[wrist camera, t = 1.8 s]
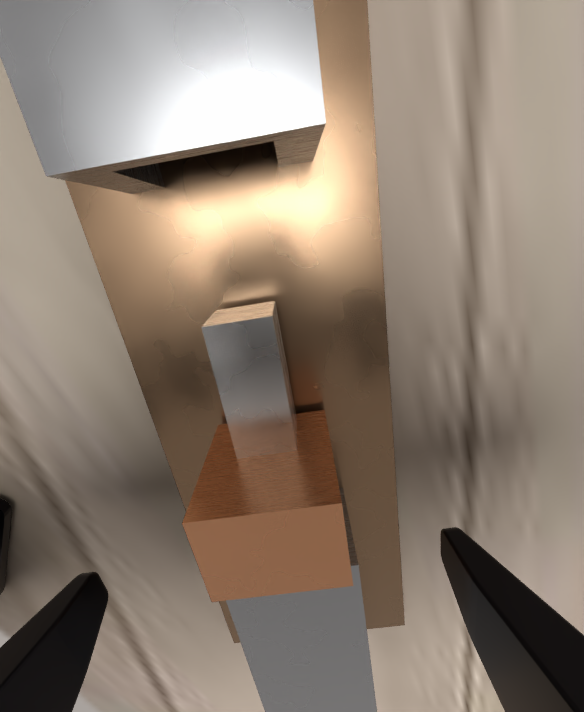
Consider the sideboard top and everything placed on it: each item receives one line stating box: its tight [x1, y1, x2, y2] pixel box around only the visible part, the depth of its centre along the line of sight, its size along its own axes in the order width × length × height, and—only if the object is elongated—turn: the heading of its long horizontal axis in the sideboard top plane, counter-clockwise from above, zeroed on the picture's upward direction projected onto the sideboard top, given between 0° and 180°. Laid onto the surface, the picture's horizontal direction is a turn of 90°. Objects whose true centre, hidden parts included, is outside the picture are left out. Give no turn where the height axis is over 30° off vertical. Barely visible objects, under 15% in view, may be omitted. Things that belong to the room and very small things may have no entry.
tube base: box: [0, 0, 405, 712], centre depth 11 cm, size 28×9×4 cm, turn 9°
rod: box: [182, 301, 353, 602], centre depth 12 cm, size 16×4×4 cm, turn 9°
